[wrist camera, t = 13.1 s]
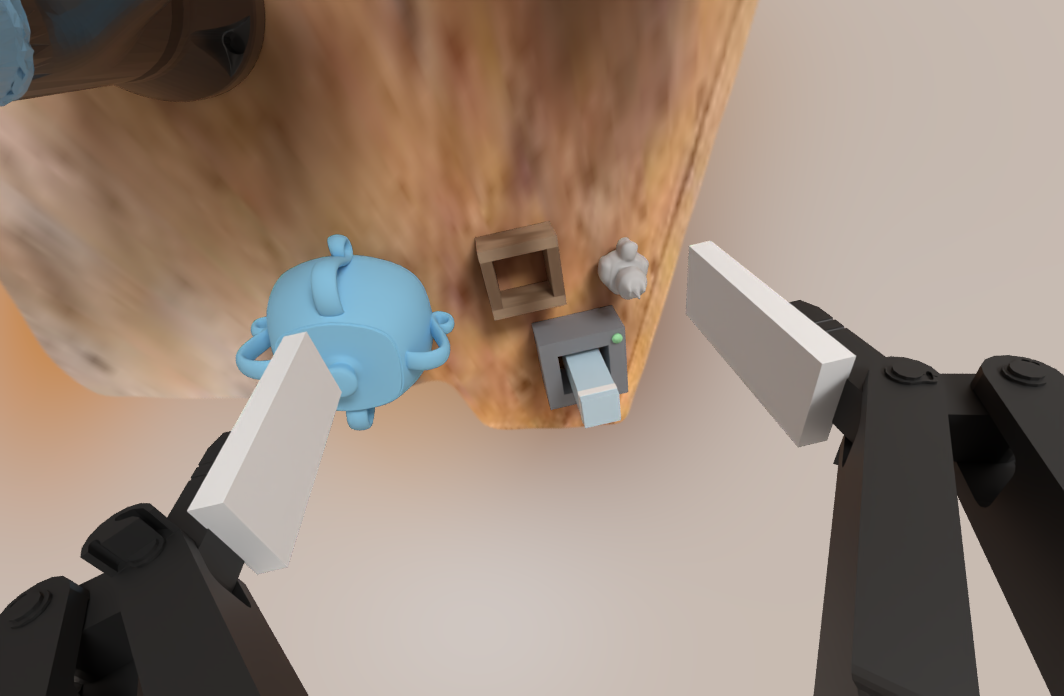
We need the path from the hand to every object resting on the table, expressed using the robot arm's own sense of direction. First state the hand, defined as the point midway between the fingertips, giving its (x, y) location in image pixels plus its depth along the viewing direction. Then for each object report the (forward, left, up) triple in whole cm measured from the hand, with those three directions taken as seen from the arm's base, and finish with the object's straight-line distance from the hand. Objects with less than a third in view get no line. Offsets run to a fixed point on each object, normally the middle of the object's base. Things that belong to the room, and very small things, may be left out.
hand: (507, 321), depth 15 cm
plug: (+7, -26, -32) cm, 42 cm away
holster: (+2, -13, -32) cm, 34 cm away
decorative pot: (-16, -14, -32) cm, 38 cm away
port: (+7, -26, -32) cm, 42 cm away
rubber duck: (+13, -15, -32) cm, 38 cm away
